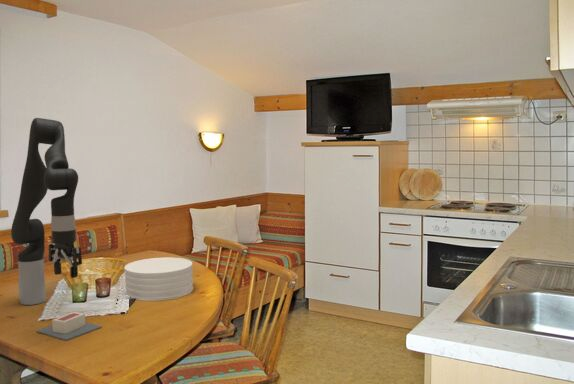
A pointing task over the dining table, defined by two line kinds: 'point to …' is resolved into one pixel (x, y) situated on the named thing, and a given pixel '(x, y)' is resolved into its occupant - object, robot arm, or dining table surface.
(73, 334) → the mat
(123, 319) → the dining table surface
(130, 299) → the chocolate bar
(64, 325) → the card box
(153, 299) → the plate stack
